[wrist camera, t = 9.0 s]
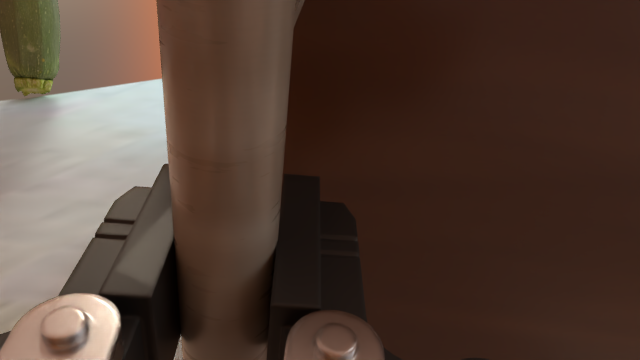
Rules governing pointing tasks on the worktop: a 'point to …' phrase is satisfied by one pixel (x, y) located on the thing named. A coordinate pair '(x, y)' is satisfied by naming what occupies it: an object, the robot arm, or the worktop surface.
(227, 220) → the shelf door
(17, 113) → the worktop surface
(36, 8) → the vegetable
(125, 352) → the robot arm
